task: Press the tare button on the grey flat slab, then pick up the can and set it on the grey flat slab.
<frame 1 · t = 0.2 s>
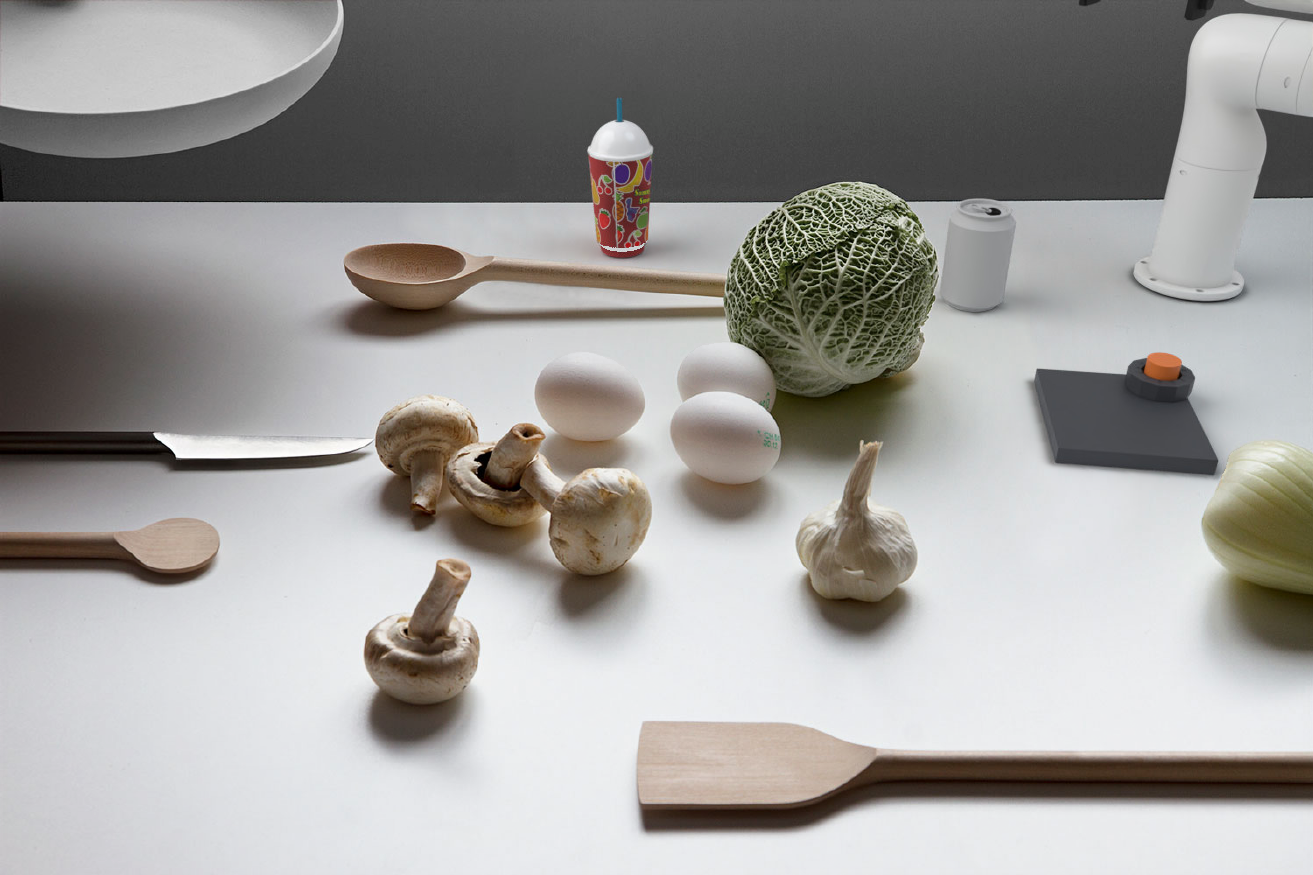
hand: (1140, 11, 101), 37 cm above the table, tool pointing down, fingers open, 9 cm apart
smoothie: (622, 251, 151), on the table
can: (970, 303, 136), on the table
grey flat slab: (1117, 426, 111), on the table
tare button: (1162, 367, 113), point 4 cm above the table, slide at 0.1 cm
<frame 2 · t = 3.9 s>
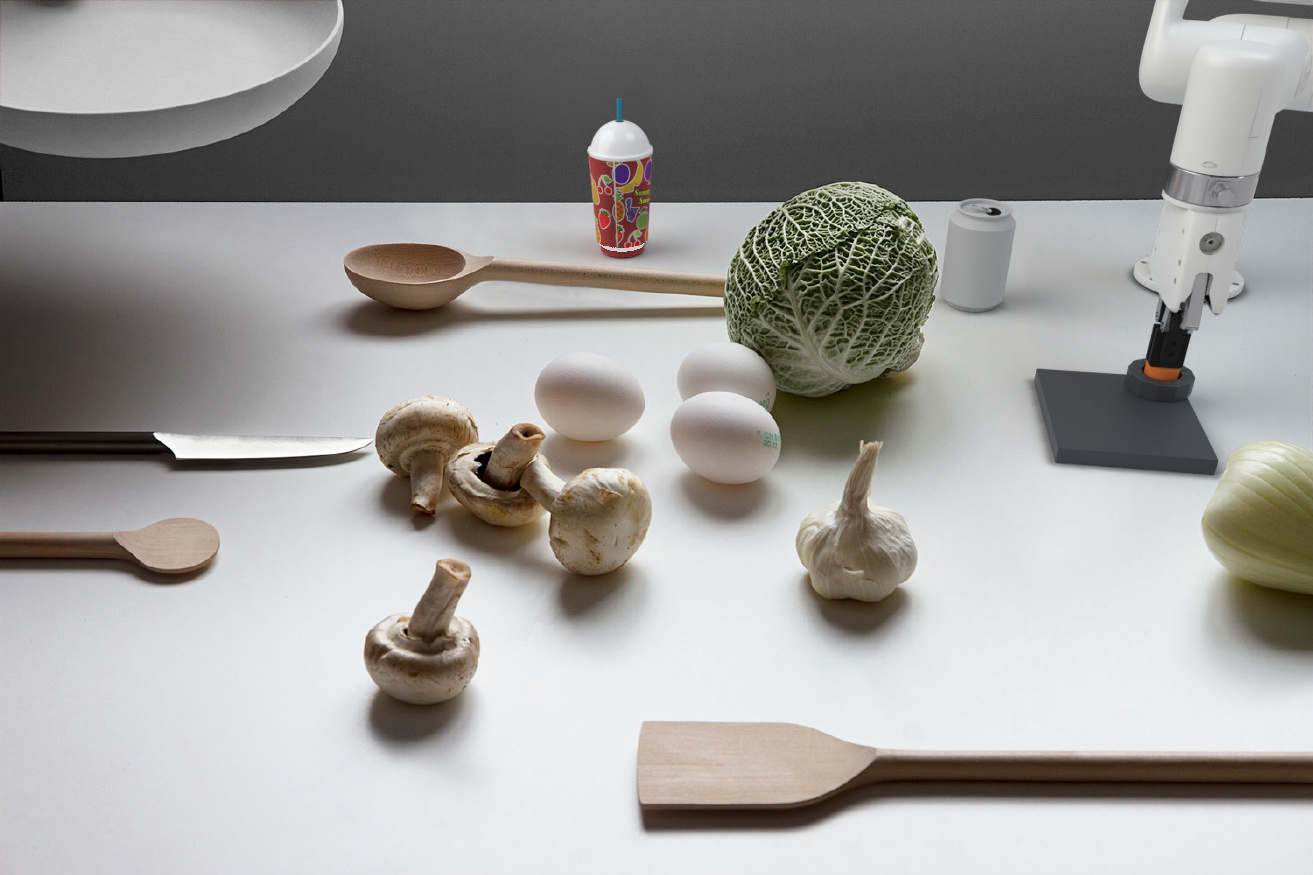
hand: (1163, 363, 112), 4 cm above the table, tool pointing down, fingers closed
tare button: (1161, 371, 113), point 4 cm above the table, slide at -0.3 cm, touching gripper
everything else where it was.
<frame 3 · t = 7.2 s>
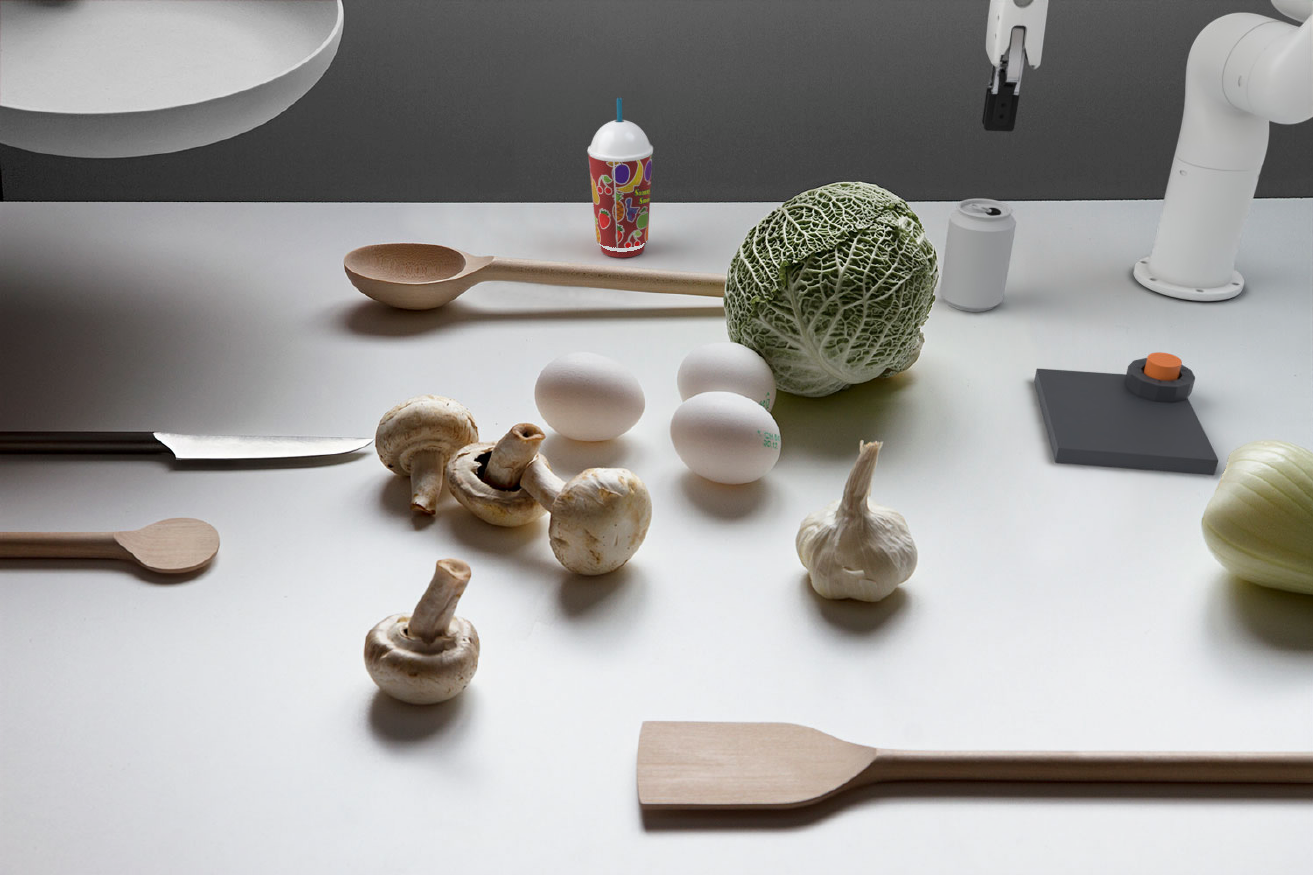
hand: (997, 126, 125), 21 cm above the table, tool pointing down, fingers closed
tare button: (1162, 367, 113), point 4 cm above the table, slide at 0.1 cm
everything else where it was.
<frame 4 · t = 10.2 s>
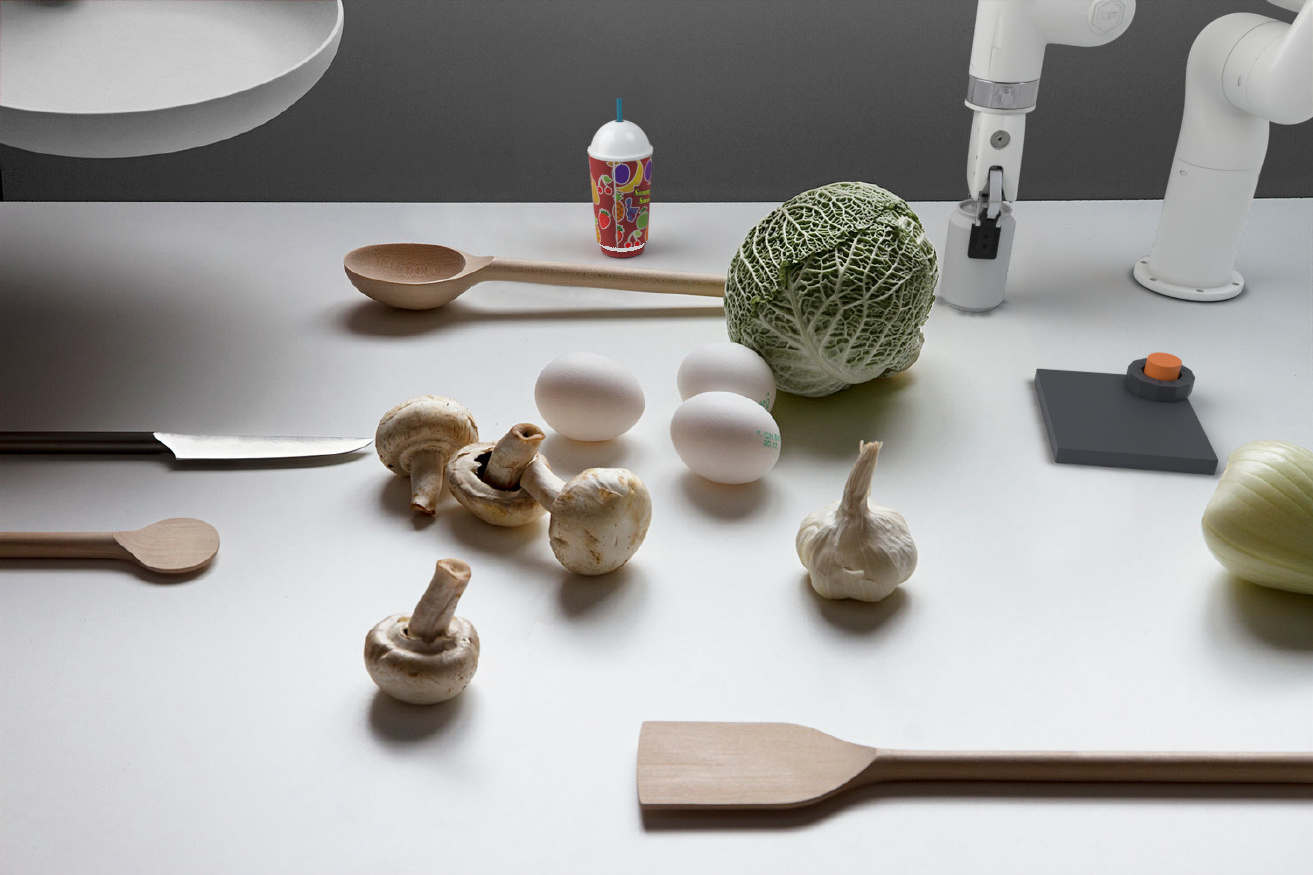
hand: (978, 244, 132), 7 cm above the table, tool pointing down, fingers closed on can, 7 cm apart
can: (970, 303, 136), on the table, touching gripper
everything else where it was.
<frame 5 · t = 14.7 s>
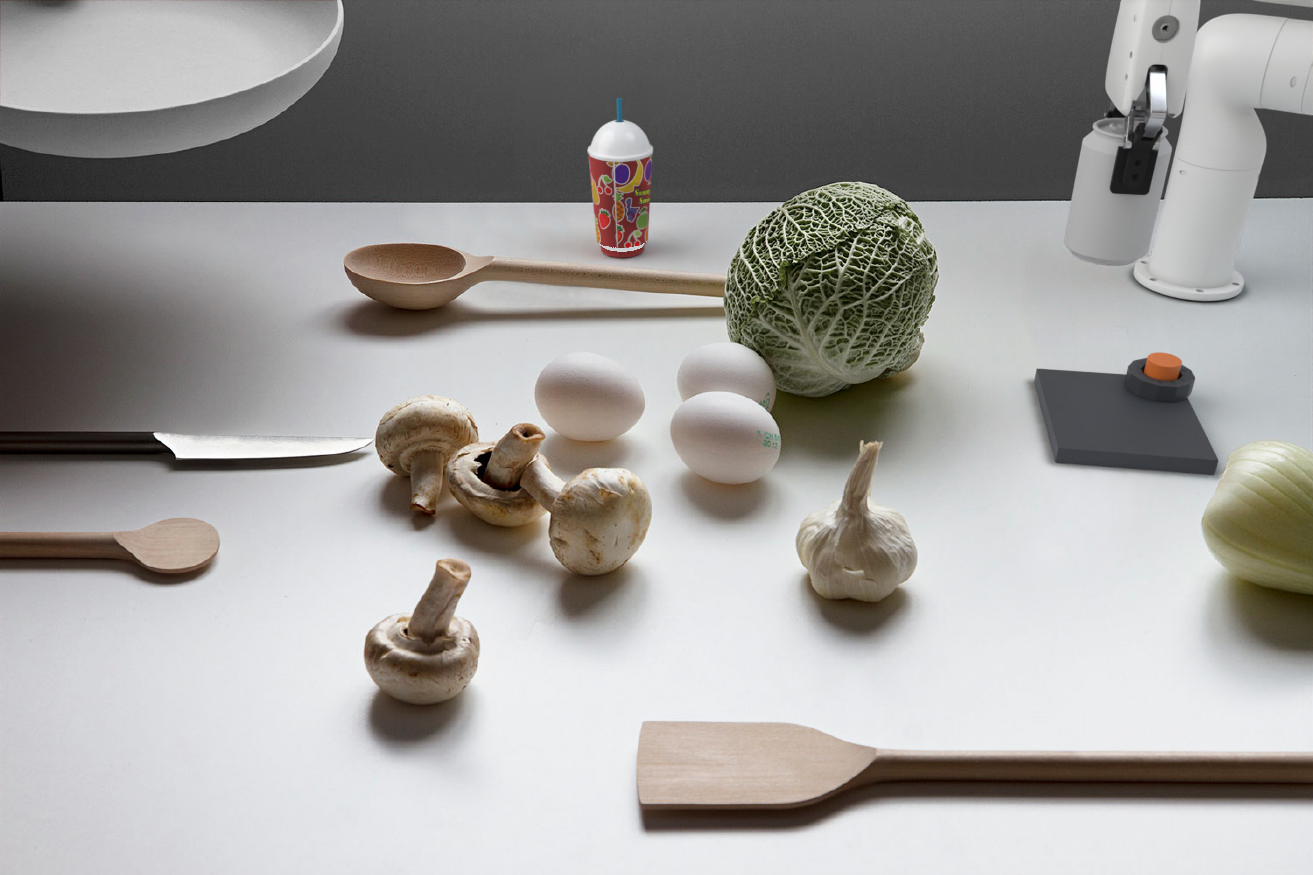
hand: (1120, 177, 101), 24 cm above the table, tool pointing down, fingers closed on can, 7 cm apart
can: (1103, 256, 105), point 16 cm above the table, touching gripper
everything else where it was.
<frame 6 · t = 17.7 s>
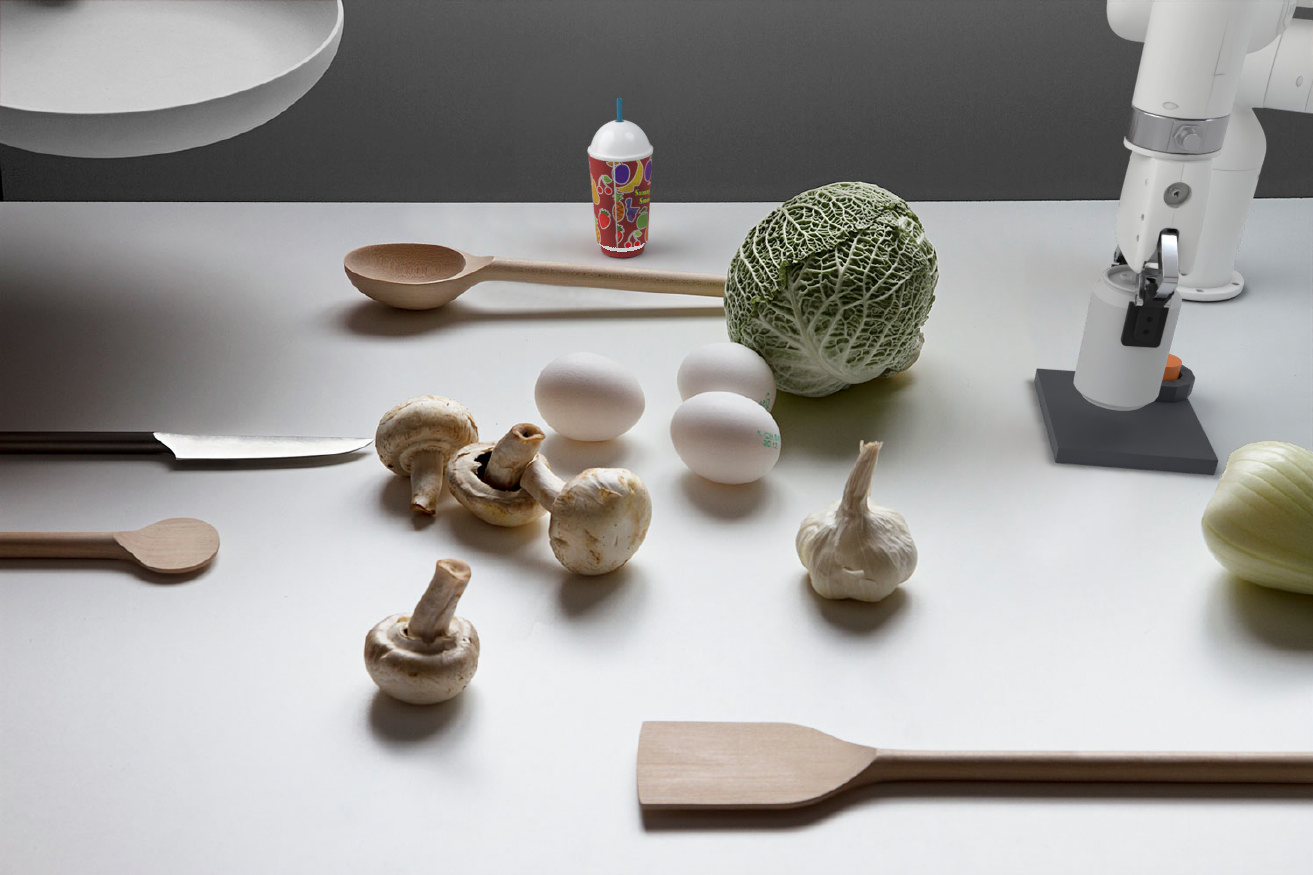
hand: (1130, 324, 102), 12 cm above the table, tool pointing down, fingers closed on can, 7 cm apart
can: (1113, 397, 106), point 5 cm above the table, touching gripper
everything else where it was.
when the fingers open (9 cm above the table, at t = 19.4 s): can stays where it is, resting on grey flat slab.
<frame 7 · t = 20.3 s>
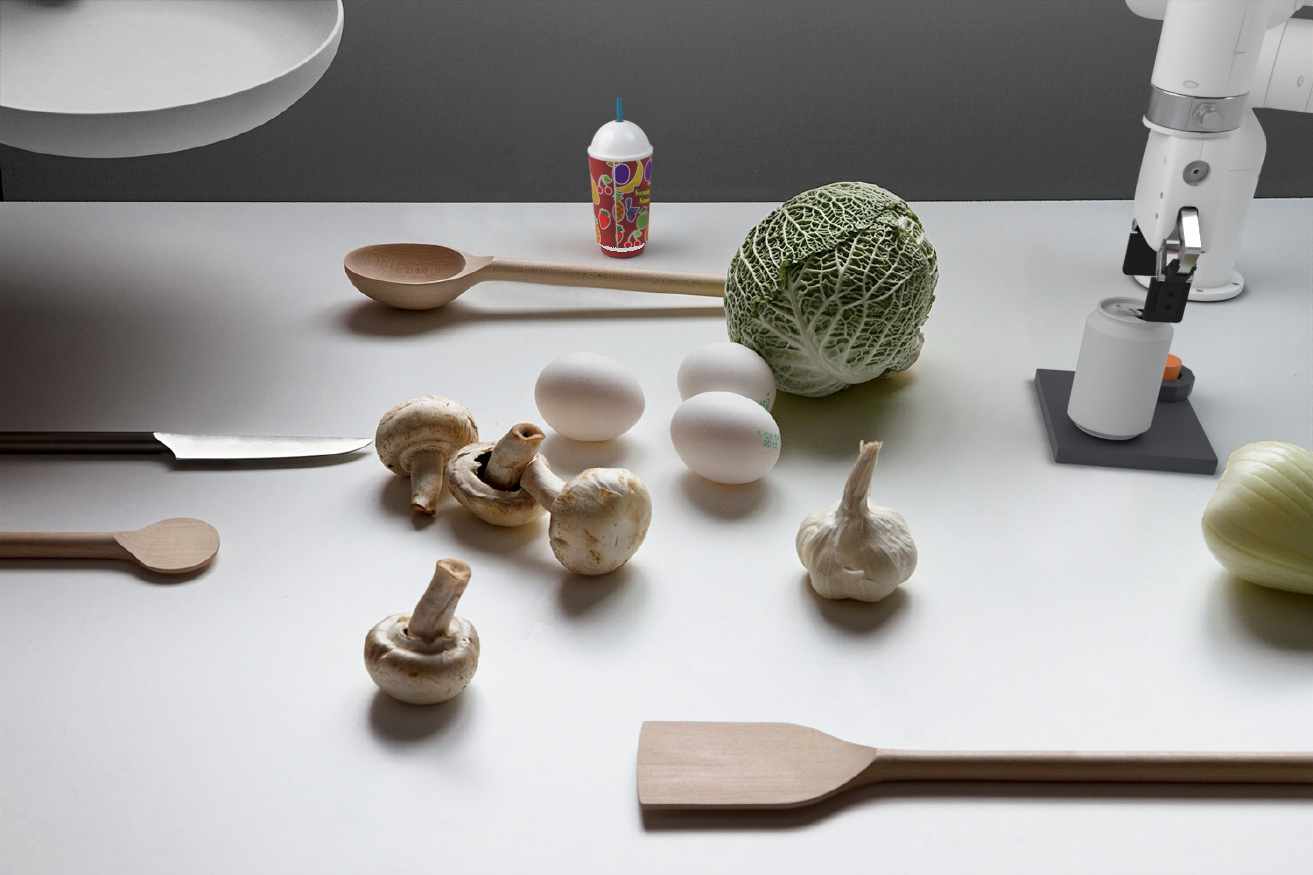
hand: (1150, 296, 102), 14 cm above the table, tool pointing down, fingers open, 9 cm apart
can: (1106, 427, 107), point 2 cm above the table, touching grey flat slab
everything else where it was.
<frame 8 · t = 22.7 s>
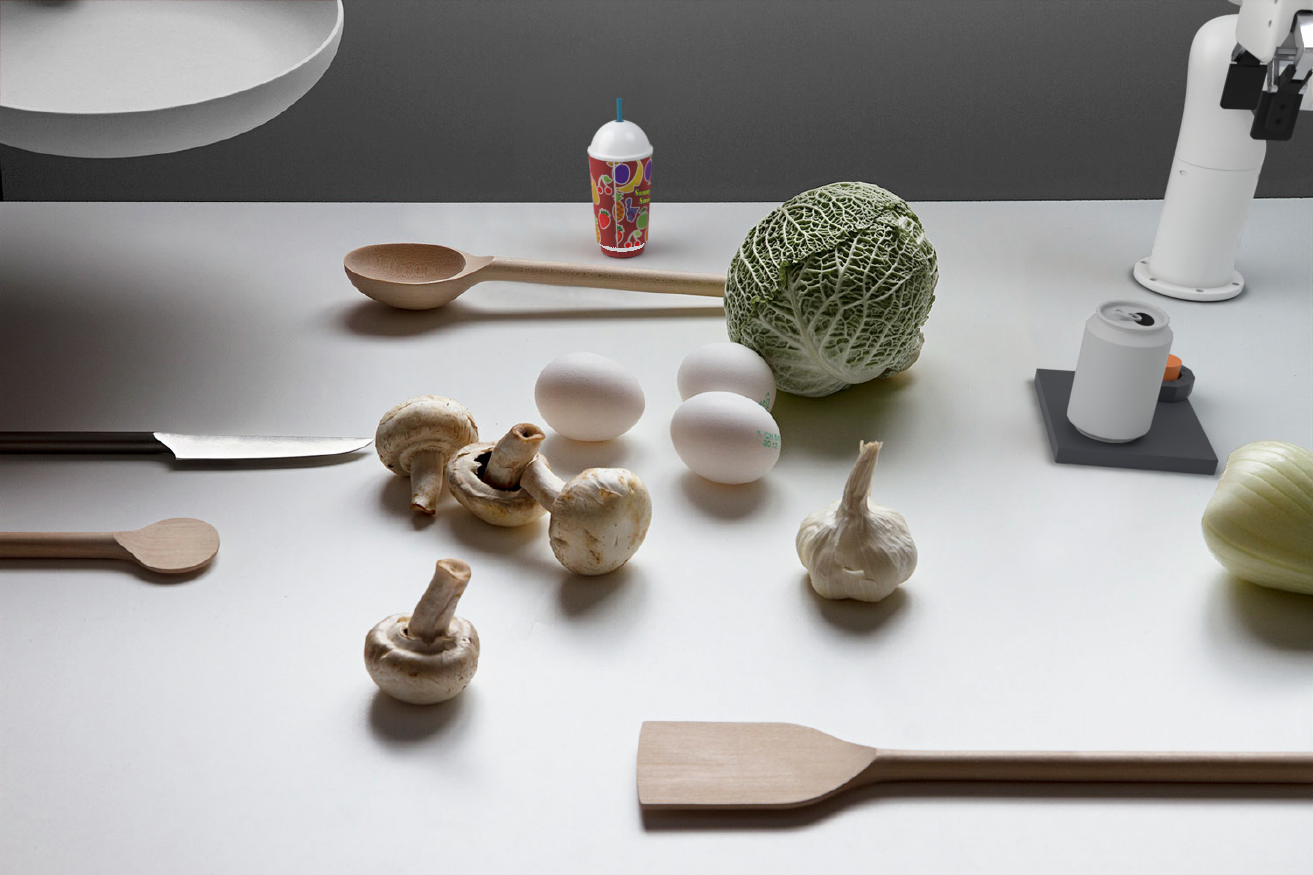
hand: (1252, 123, 100), 28 cm above the table, tool pointing down, fingers open, 9 cm apart
nothing on the table moved.
at the end: tare button pushed in 1.1 cm at the most during the clip, back to where it started at the end; can inside the target area on the grey flat slab (0.5 cm from its centre), point 1.5 cm above the grey flat slab's base; can touching grey flat slab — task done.
